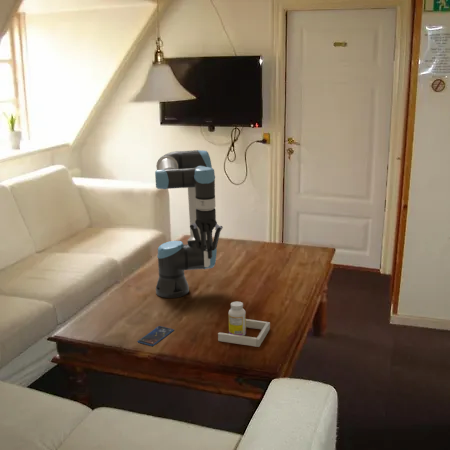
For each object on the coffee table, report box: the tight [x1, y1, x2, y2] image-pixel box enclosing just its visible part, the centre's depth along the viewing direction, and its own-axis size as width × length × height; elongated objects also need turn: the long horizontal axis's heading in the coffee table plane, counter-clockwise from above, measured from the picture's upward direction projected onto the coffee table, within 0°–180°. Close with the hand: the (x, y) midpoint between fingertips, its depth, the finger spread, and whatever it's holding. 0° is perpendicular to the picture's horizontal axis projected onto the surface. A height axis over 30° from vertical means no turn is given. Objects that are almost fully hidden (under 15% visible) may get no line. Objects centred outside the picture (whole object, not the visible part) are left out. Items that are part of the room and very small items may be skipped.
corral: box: [217, 318, 271, 348], centre depth 225 cm, size 16×15×3 cm
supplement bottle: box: [228, 301, 247, 336], centre depth 224 cm, size 7×7×13 cm
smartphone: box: [136, 325, 175, 347], centre depth 226 cm, size 8×1×15 cm
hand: (207, 265), depth 228 cm, fingers closed
